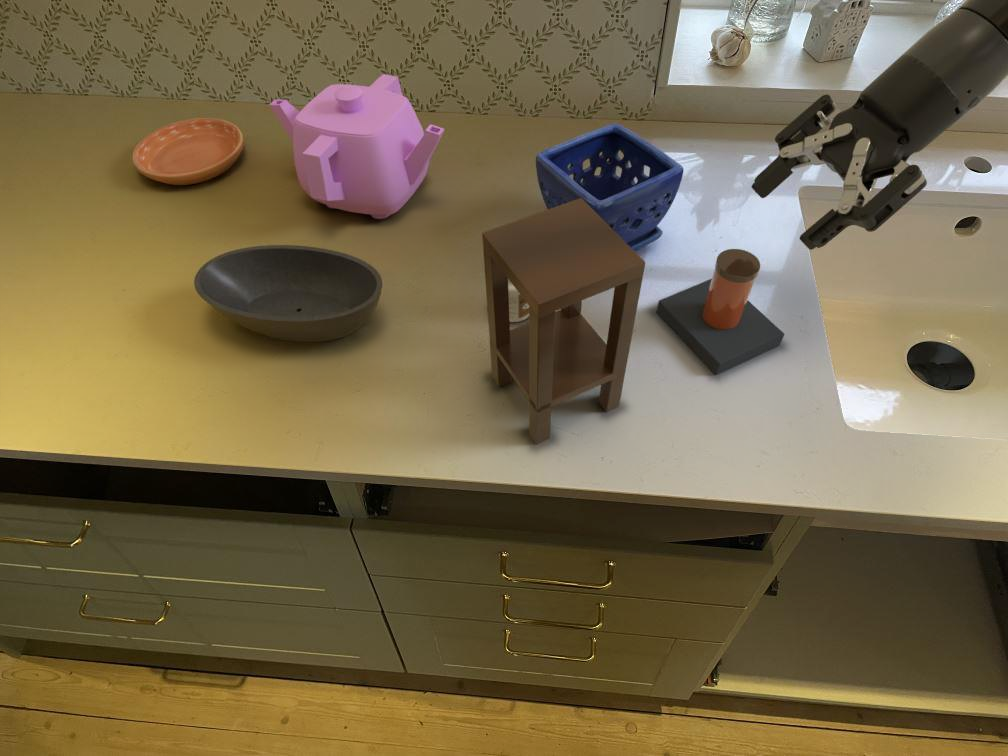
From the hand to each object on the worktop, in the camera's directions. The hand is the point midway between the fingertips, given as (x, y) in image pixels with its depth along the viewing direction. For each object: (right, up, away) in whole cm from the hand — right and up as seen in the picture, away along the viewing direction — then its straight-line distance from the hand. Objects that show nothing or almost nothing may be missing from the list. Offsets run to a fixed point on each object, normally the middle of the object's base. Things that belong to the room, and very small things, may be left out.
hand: (779, 217), depth 64 cm
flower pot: (-14, +2, +22) cm, 26 cm away
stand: (-22, -17, +6) cm, 28 cm away
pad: (-3, -10, +11) cm, 15 cm away
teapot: (-46, +11, +30) cm, 56 cm away
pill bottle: (-26, -8, +14) cm, 31 cm away
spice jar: (-3, -9, +10) cm, 13 cm away
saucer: (-75, +17, +36) cm, 85 cm away
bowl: (-51, -9, +14) cm, 54 cm away
